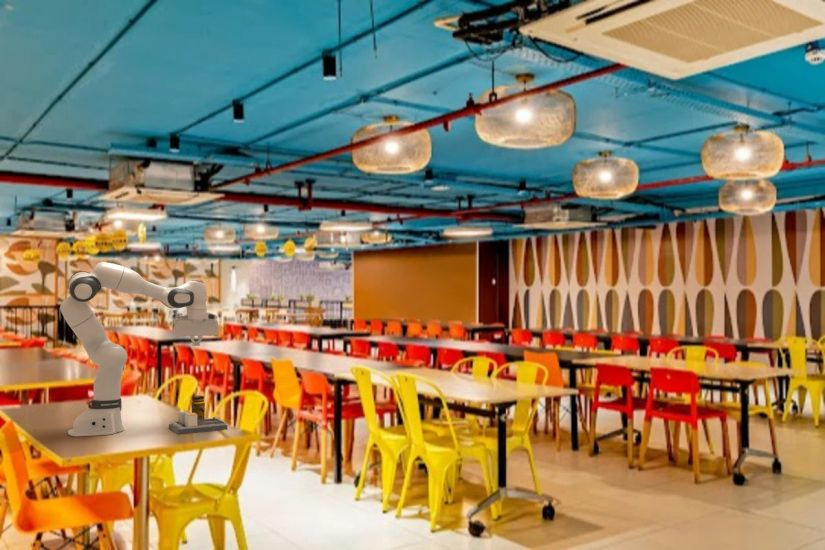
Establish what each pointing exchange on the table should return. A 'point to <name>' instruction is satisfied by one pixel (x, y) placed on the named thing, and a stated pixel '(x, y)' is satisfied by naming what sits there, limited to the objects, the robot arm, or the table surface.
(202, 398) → the condiment
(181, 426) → the grey tray
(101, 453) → the table surface
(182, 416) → the block
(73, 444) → the table surface
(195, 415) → the fader
